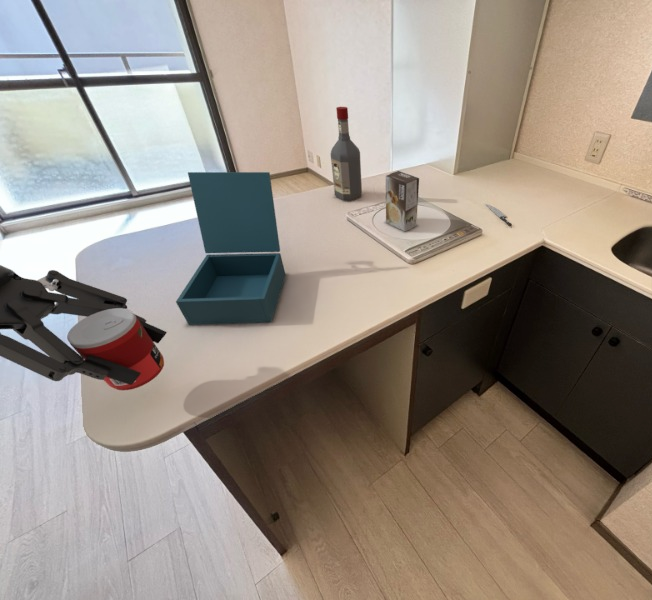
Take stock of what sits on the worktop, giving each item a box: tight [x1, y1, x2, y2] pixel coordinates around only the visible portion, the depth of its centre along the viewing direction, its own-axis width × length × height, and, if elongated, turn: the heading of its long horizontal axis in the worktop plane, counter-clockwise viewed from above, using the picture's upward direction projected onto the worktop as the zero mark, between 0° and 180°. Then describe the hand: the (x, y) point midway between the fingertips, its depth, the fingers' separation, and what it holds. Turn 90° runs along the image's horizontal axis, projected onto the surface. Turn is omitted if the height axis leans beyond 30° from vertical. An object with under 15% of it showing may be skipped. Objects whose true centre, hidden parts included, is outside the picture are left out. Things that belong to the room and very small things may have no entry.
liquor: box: [330, 106, 363, 202], centre depth 116 cm, size 9×9×30 cm
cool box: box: [175, 252, 287, 326], centre depth 77 cm, size 18×18×7 cm
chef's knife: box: [485, 203, 513, 227], centre depth 117 cm, size 19×1×3 cm
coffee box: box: [385, 170, 420, 232], centre depth 105 cm, size 9×6×16 cm
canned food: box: [66, 308, 165, 391], centre depth 51 cm, size 8×8×11 cm
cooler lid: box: [187, 171, 281, 254], centre depth 79 cm, size 19×18×5 cm
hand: (150, 357), depth 52 cm, fingers closed on canned food, 8 cm apart
